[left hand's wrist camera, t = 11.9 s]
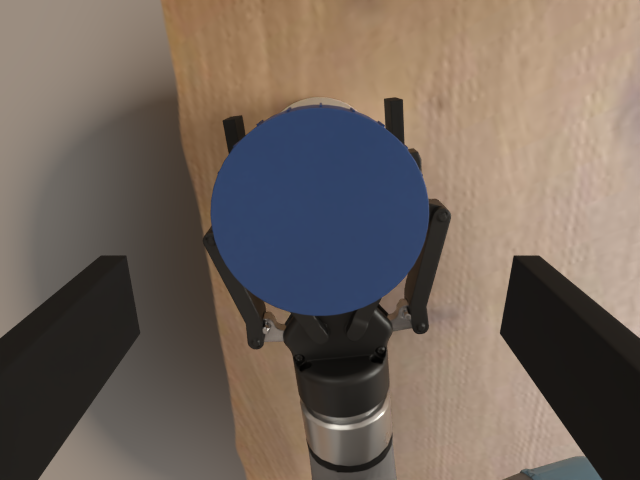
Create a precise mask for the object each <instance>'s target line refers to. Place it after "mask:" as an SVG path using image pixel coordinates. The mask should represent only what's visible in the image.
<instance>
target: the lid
mask: <svg viewBox="0 0 640 480" xmlns="http://www.w3.org/2000/svg"><path fill="white" fill-rule="evenodd" d="M256 125H257V127H256V128H254V129H253V130H252V131H251V132H249V133H248V134H247V135H246V136H245V137H243V138H242V139H241V140H240V141H239V142H237V143H236V144H235V145H234V146H233V147H234V148H233V149H232V151H231V152H230V154H229V155H228V157H227V158H226V159H225V161H224V163H223V165H222V167H221V169H220V171H219V172H218V176H217V179H216V182H215V185H214V188H213V194H212V199H211V223H212V230H213V235H214V239H215V242H216V245H217V247H218V250H219V253H220V255H221V257H222V258H223V260H224V262H225V264H226V266H227V267H228V268H229V270H230V271H231V273H232V274H233V275H234V277H235V278H236V279H237V280H238V281H239V282H240V283H241V284H242V285H243V286H244V287H245V288H246V289H247V290H249V291H250V292H251V293H252V294H254V295H255V296H257V297H258V298H260V299H261V300H263V301H265V302H267V303H269V304H271V305H273V306H275V307H277V308H280V309H283V310H285V311H289V312H293V313H297V314H303V315H311V316H328V315H337V314H343V313H347V312H351V311H354V310H357V309H360V308H363V307H365V306H367V305H369V304H371V303H373V302H375V301H377V300H378V299H380V298H382V297H383V296H385V295H386V294H387V293H389V292H390V291H391V290H392V289H393V288H395V287H396V286H397V285H398V284H399V283H400V282H401V281H402V280H403V279H404V277H405V276H406V275H407V274H408V272H409V271H410V270H411V268H412V267H413V265H414V264H415V262H416V260H417V258H418V256H419V254H420V252H421V249H422V247H423V244H424V242H425V238H426V233H427V229H428V221H429V201H428V195H427V190H426V186H425V183H424V179H423V175H422V173H421V172H420V170H419V168H418V165H417V163H416V161H415V160H414V158H413V157H412V155H411V154H410V153H409V151H408V150H407V149H408V147H407V146H406V145H404V144H403V143H402V142H401V141H399V140H398V139H397V138H396V137H395V136H394V135H393V134H392V133H390V132H389V131H388V130H387V129H385V128H384V126H385V125H383V124H382V123H381V122H380V121H378V122H376V121H375V120H373V119H371V118H370V117H368V116H366V115H364V114H361V113H359V112H357V111H355V110H354V109H353V108H350V109H348V108H344V107H340V106H333V105H322V103H320V105H307V106H299V107H296V108H292V109H291V107H289V108H288V109H287V110H285V111H283V112H281V113H278V114H276V115H274V116H272V117H270V118H269V119H267V120H265V121H263V120H262V121H260V122H259V123H258V124H256Z"/></svg>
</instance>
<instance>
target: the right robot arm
mask: <svg viewBox="0 0 640 480" xmlns="http://www.w3.org/2000/svg"><path fill="white" fill-rule="evenodd" d="M384 107H385V126H386V129H387V130H388V131H389V132H390V133H392V134H393V135H394V136H395V137H396V138H397V139H398V140H399V141H401V142H402V143H403V144H404V120H403V100H402V99H399V98H386V99H384ZM223 125H224V130H225V136H226V141H227V146H228V152H229V154H230V152H231V151H232V149H233V148H234V147H233V146H234V145H235V144H236V143H237V142H239V141H240V140H241V139H242V138H243V137H245V136H246V135H245V129H244V123H243V117H242V115H241V116H233V117H229V118H227V119H225V120H223ZM407 150H408V151H409V153H410V154H411V155H412V157H413V158H414V160H415V161H416V163H417V165H418V168H419V170H420V172H421V158H420V155H419V153H418V152H417V151H416V150H415V149H414V148H413V149H407ZM421 173H422V172H421ZM428 201H429V221H428V229H427V233H426V238H425V242H424V244H423V247H422V249H421V252H420V254H419V256H418V258H417V260H416V262H415V264H414V265H413V267H412V268H411V270H410V271H409V272H408V276H407V280H406V284H405V291H404V296H405V299H400V300H399V302H398V304H397V307H396V310H395V312H394V313H392V314H388V313H387V312H386V311H385V310H384V309H383V308H382V307H381V306H380V305H379V302H380V300H381V298H380V299H378V300H377V301H375V302H373V303H371V304H369V305H367V306H365V307H363V308H360V309H357V310H354V311H351V312H347V313H343V314H337V315H328V316H311V315H303V314H297V313H293V312H290V313H291V315H290V316H289V318H288V319H287V321H286V323H285V324H280V323H278V322H277V321H276V319H275V316H274V315H273V314H272V313H271V312H269V311H268V312H266V307H265V304H264V301H263V300H261V299H260V298H258V297H257V296H255V295H254V294H252V293H251V292H250V291H249V290H247V289H246V288H245V287H244V286H243V285H242V284H241V283H240V282H239V281H238V280H237V279H236V278H235V277H234V275H233V274H232V273H231V271H230V270H229V268H228V267H227V266H226V264H225V262H224V260H223V258H222V257H221V255H220V253H219V250H218V247H217V245H216V242H215V239H214V235H213V230H212V226H211V228H210V229H209V230H208V232H207V233H206V235H205V236H204V238H203V243H204V246H205V247H206V249H207V251H208V253H209V255H210V257H211V259H212V261H213V263H214V264H215V266H216V268H217V270H218V272H219V274H220V276H221V278H222V280H223V281H224V283H225V285H226V287H227V289H228V291H229V293H230V295H231V297H232V298H233V300H234V302H235V304H236V306H237V308H238V310H239V312H240V314H241V315H242V317H243V319H244V321H245V323H246V329H247V339H248V345H249V346H250V347H251V348H253V349H260V348H261V347H262V346H263V344H264V342H279V341H284V343H285V344H286V346H287V347H288V348H289V349H290V351H291V353H292V355H293V361H294V367H295V373H296V379H297V386H298V392H299V396H300V405H301V410H302V416H303V422H304V427H305V433H306V440H307V444H308V449H309V457H310V465H311V473H312V480H397V478H396V470H395V461H394V451H393V441H392V428H393V426H392V413H391V400H390V390H389V368H388V353H387V343H388V340H389V338H390V336H391V334H392V331H398V330H403V329H409V328H413V331H414V332H415V333H417V334H423V333H425V332H427V330H428V328H429V324H428V316H427V308H426V306H427V302H428V299H429V295H430V292H431V288H432V284H433V281H434V277H435V274H436V270H437V266H438V263H439V259H440V256H441V252H442V248H443V245H444V241H445V237H446V234H447V230H448V227H449V223H450V219H451V214H450V212H449V211H448V210H447V208H446V207H445V206H444V205H443V204H442V203H441V202H440V201H439V200H437V199H428ZM503 480H602V479H601V477H600V476H599V475H598V473H597V472H596V470H595V469H594V467H593V466H592V465H591V463H590V462H589V460H588V459H587V457H584V456H577V457H572V458H569V459H565V460H562V461H558V462H555V463H552V464H548V465H545V466H541V467H538V468H534V469H531V470H530V469H524V470H521V472H520V473H518V474H516V475H513V476H511V477H508V478H506V479H503Z"/></svg>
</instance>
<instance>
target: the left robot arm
mask: <svg viewBox="0 0 640 480" xmlns="http://www.w3.org/2000/svg"><path fill="white" fill-rule="evenodd" d="M139 334H140V330H139V324H138V319H137V313H136V308H135V302H134V296H133V291H132V285H131V280H130V274H129V268H128V263H127V257H126V256H100V257H99V258H97V259H96V260H95V261H94V262H93V263H91V264H90V265H89V266H88V267H86V268H85V269H84V270H83V271H82V272H80V273H79V274H78V275H77V276H76V277H74V278H73V279H72V280H71V281H69V282H68V283H67V284H66V285H65V286H63V287H62V288H61V289H60V290H59V291H57V292H56V293H55V294H54V295H52V296H51V297H50V298H49V299H48V300H46V301H45V302H44V303H43V304H42V305H40V306H39V307H38V308H37V309H35V310H34V311H33V312H32V313H31V314H29V315H28V316H27V317H26V318H24V319H23V320H22V321H21V322H20V323H18V324H17V325H16V326H15V327H13V328H12V329H11V330H10V331H9V332H7V333H6V334H5V335H4V336H3V337H1V338H0V480H38V479H39V477H40V476H41V475H42V473H43V472H44V470H45V469H46V467H47V466H48V465H49V463H50V462H51V460H52V459H53V457H54V456H55V454H56V453H57V452H58V450H59V449H60V447H61V446H62V445H63V443H64V442H65V440H66V439H67V437H68V436H69V434H70V433H71V432H72V430H73V429H74V427H75V426H76V424H77V423H78V421H79V420H80V419H81V417H82V416H83V414H84V413H85V412H86V410H87V409H88V407H89V406H90V404H91V403H92V401H93V400H94V399H95V397H96V396H97V394H98V393H99V392H100V390H101V389H102V387H103V386H104V384H105V383H106V381H107V380H108V379H109V377H110V376H111V374H112V373H113V371H114V370H115V369H116V367H117V366H118V364H119V363H120V361H121V360H122V359H123V357H124V356H125V354H126V353H127V351H128V350H129V349H130V347H131V346H132V344H133V343H134V341H135V340H136V338H137V337H138V336H139ZM500 334H501V336H502V337H503V339H504V340H505V341H506V343H507V344H508V346H509V347H510V349H511V350H512V351H513V353H514V354H515V356H516V357H517V359H518V360H519V361H520V363H521V364H522V366H523V367H524V369H525V370H526V371H527V373H528V374H529V376H530V377H531V379H532V380H533V381H534V383H535V384H536V386H537V387H538V389H539V390H540V392H541V393H542V394H543V396H544V397H545V399H546V400H547V402H548V403H549V404H550V406H551V407H552V409H553V410H554V412H555V413H556V414H557V416H558V417H559V419H560V420H561V422H562V423H563V424H564V426H565V427H566V429H567V430H568V432H569V433H570V434H571V436H572V437H573V439H574V440H575V442H576V443H577V445H578V446H579V447H580V449H581V450H582V452H583V453H584V455H585V456H586V457H587V459H588V460H589V462H590V463H591V465H592V466H593V467H594V469H595V470H596V472H597V473H598V475H599V476H600V477H601V479H602V480H640V338H639V337H637V336H636V335H635V334H634V333H633V332H631V331H630V330H629V329H628V328H627V327H625V326H624V325H623V324H622V323H620V322H619V321H618V320H617V319H616V318H614V317H613V316H612V315H611V314H609V313H608V312H607V311H606V310H605V309H603V308H602V307H601V306H600V305H599V304H597V303H596V302H595V301H594V300H592V299H591V298H590V297H589V296H588V295H586V294H585V293H584V292H583V291H581V290H580V289H579V288H578V287H577V286H575V285H574V284H573V283H572V282H571V281H569V280H568V279H567V278H566V277H564V276H563V275H562V274H561V273H560V272H558V271H557V270H556V269H555V268H554V267H552V266H551V265H550V264H549V263H547V262H546V261H545V260H544V259H543V258H541V257H540V256H514V257H513V263H512V268H511V274H510V280H509V285H508V291H507V296H506V302H505V308H504V313H503V319H502V324H501V330H500Z"/></svg>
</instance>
